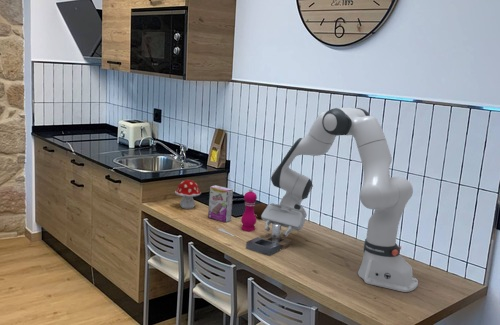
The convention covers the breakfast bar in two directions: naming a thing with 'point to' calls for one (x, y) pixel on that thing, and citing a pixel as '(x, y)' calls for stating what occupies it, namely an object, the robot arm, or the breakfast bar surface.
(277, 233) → the steel axle
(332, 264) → the breakfast bar surface
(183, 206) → the decorative mushroom
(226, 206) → the candy bar box
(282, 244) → the wooden picture frame
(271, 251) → the socket block
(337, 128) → the robot arm
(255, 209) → the brown rounded lump
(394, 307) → the breakfast bar surface
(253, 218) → the pepper mill
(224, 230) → the butter knife
